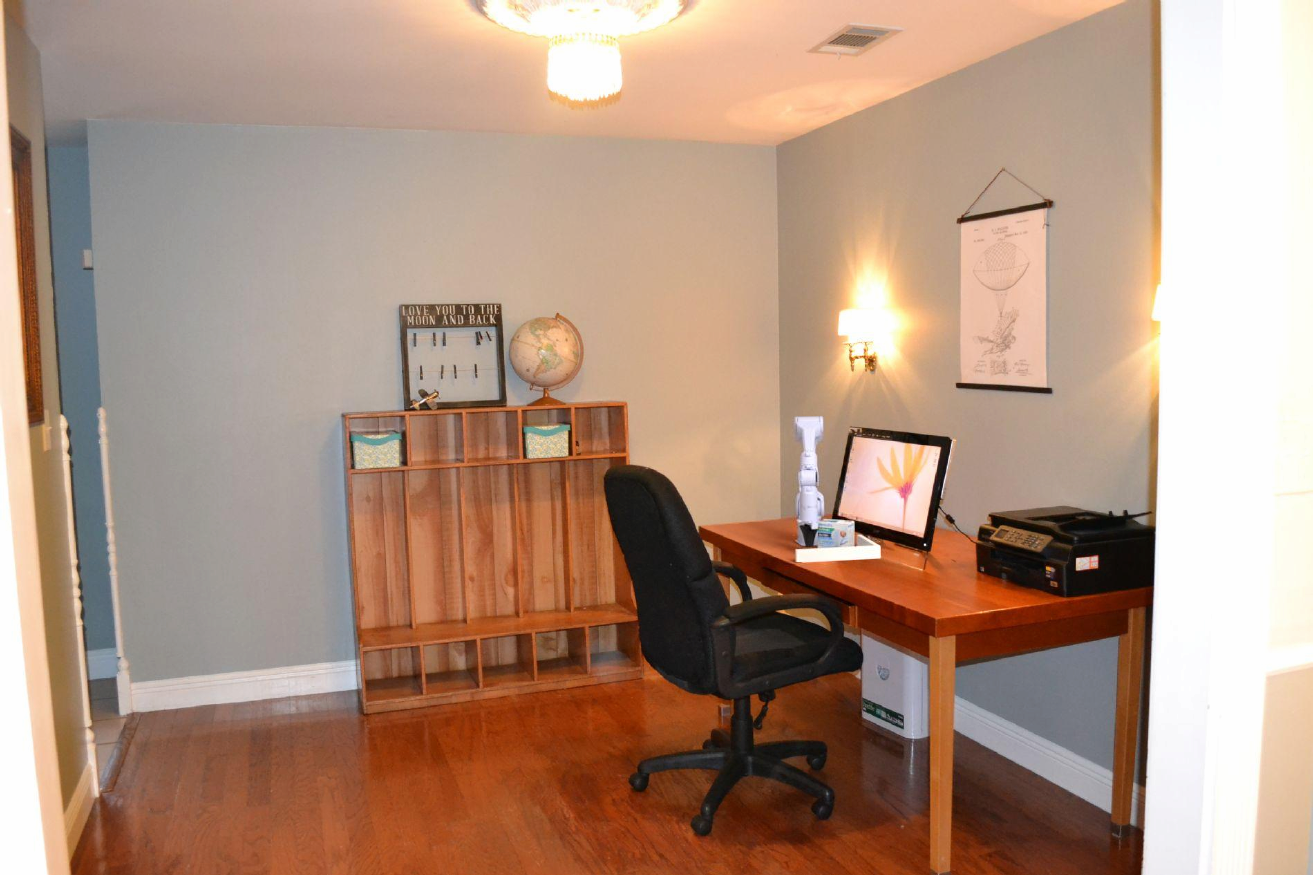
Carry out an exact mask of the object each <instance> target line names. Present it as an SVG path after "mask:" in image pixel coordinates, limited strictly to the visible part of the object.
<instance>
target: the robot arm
mask: <svg viewBox="0 0 1313 875" xmlns="http://www.w3.org/2000/svg"><path fill="white" fill-rule="evenodd" d="M793 423H794V426H793V427H794V428H793V429H794V438H795V440H796V441H797V442H798V443H800V444H801V446H802V449H803V451H802V452H801V454H800V455H799V471H798V473H797V474H798V475H797V480H798V484H797V485H798V489H799V491H798V493H797V494H796V496H795V501H794V502H795V514H794V515H795V516H796V518H798V519H796V523H797V539H795V542H796V543H797V544H798V545H800V546H802V547H805V548H814V547H815V546H818V529H819V527H818V522H819V521H822V518H823V517H824V516H825V500H824V498H825V497H824V495H823V494H822V492H820V491H819V490H818V486H819V483H820V480H819V477H820V476H819V468H818V454H817V453H816V448H817V446H818V443H820V442H822V441H823V437H824V417H823V416H822V415H819V416H799V415H798V416H795V417H794V422H793ZM816 484H817V485H816Z"/></svg>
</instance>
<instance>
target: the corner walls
mask: <svg viewBox="0 0 1313 875" xmlns="http://www.w3.org/2000/svg"><path fill="white" fill-rule="evenodd" d="M794 555H795V556H794V557H795V558H794V560H795V563H796V562H802V563H815V562H816V563H819V562H835V561H837V562H838V561H853V560H872V559H873V560H874V559H881V558H882V556H881V545H880V544H878V543H876V542H874V541H873V540H871V539H869V538H868V537H866V536H864V535H863V534H856V546H855V545H854V546H851V547H832V548H818V547H817V548H814V547H812V548H802V549H801V548H799V549H798V548H797V549H796V548H795V554H794Z"/></svg>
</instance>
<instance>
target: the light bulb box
mask: <svg viewBox="0 0 1313 875" xmlns="http://www.w3.org/2000/svg"><path fill="white" fill-rule="evenodd" d="M818 527H819V529H818V545H817V548H832V547H851V546H855V520H848V519H847V520H844V519H831V518H829V519H828V518H823V519H821V521H819V522H818Z"/></svg>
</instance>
